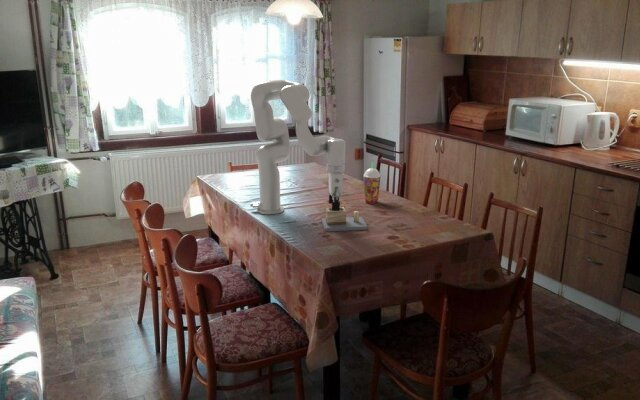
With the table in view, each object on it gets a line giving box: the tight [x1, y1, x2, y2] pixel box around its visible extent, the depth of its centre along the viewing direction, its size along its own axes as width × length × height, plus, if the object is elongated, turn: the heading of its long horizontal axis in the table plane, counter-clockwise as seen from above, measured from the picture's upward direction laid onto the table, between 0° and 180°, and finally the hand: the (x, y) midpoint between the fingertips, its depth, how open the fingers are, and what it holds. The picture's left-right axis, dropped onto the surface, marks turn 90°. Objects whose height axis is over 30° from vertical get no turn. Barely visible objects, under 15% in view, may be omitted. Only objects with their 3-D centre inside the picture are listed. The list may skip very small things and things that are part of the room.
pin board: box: [320, 210, 368, 232], centre depth 232 cm, size 18×13×6 cm
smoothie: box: [363, 162, 381, 205], centre depth 263 cm, size 8×8×20 cm
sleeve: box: [325, 206, 347, 225], centre depth 231 cm, size 6×8×6 cm
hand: (334, 207), depth 230 cm, fingers open, 9 cm apart
